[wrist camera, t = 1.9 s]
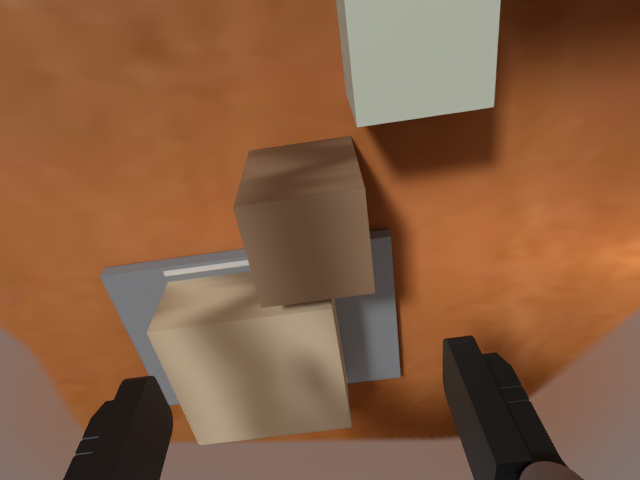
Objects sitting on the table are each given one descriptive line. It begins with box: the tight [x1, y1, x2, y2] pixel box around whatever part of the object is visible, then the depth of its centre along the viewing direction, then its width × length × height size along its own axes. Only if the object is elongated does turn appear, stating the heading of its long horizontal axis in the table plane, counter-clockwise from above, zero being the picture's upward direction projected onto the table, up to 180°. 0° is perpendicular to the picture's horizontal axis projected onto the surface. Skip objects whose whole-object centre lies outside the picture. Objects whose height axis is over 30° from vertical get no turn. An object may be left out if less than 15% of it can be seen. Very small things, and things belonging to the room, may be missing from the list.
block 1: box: [233, 136, 375, 308], centre depth 21 cm, size 5×5×6 cm
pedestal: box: [147, 271, 352, 445], centre depth 25 cm, size 9×9×4 cm
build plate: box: [100, 229, 401, 405], centre depth 27 cm, size 16×11×1 cm
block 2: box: [336, 0, 501, 127], centre depth 17 cm, size 5×5×5 cm
